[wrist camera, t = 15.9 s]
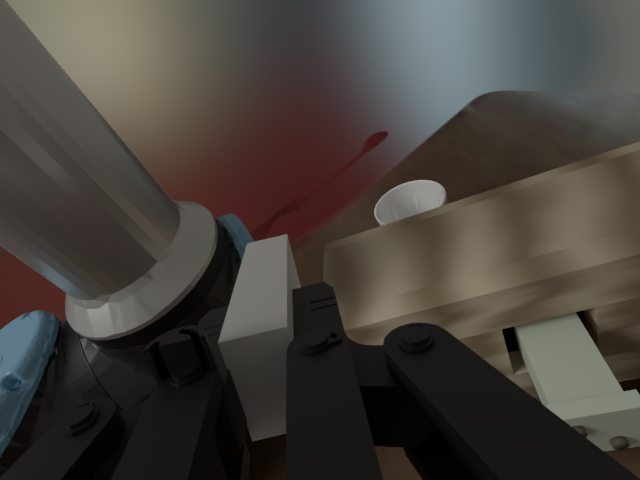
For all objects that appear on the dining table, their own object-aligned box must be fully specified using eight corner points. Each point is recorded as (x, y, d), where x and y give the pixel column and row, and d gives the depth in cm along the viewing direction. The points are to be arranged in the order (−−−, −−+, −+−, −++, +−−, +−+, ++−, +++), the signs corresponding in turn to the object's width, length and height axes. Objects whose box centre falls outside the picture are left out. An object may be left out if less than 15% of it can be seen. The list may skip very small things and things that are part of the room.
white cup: (480, 262, 46) (462, 194, 41) (425, 300, 46) (398, 237, 40) (437, 233, 53) (417, 172, 47) (389, 267, 52) (362, 208, 47)
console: (383, 425, 37) (321, 336, 29) (374, 333, 45) (324, 244, 37) (785, 351, 29) (849, 199, 21) (685, 254, 37) (705, 119, 29)
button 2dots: (558, 464, 26) (551, 429, 23) (512, 353, 32) (503, 315, 30) (647, 452, 24) (651, 413, 22) (581, 338, 31) (577, 297, 28)
